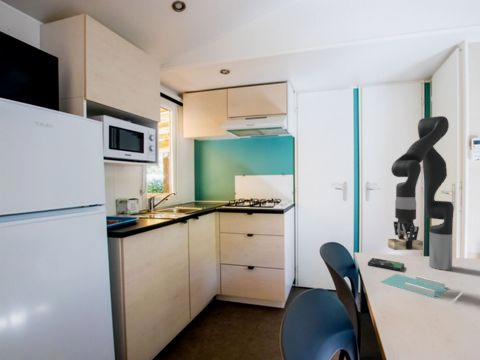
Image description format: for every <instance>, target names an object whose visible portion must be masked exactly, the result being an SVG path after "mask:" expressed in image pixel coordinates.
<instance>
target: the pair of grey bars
mask: <svg viewBox="0 0 480 360" xmlns="http://www.w3.org/2000/svg"><path fill="white" fill-rule="evenodd" d="M415 279H416V281H417V282H421V283H425V284H429V285H432V286H436V287H440V288H443V289H444V288H445V287H446V283H445V282H443V281H439V280H436V279H435V280H434V279H431V278H427V277H423V276H419V275H416V276H415ZM405 288H406V289H410V290H413V291H416V292H420V293H423V294H427V295H430V296H433V297H434V296H435V290H432V289H428V288H424V287H421V286H417V285H414V284H410V283H405Z"/></svg>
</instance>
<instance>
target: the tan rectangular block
mask: <svg viewBox="0 0 480 360" xmlns="http://www.w3.org/2000/svg"><path fill="white" fill-rule="evenodd" d="M387 241H388V242H387V243H388V244H387V247H388V248H389V249H391V250H393V251H408V250H407V249H406V238H405V239H399V238H388V239H387ZM411 251H424V242H423V240H420V239H417V240H413V242H412V250H411Z"/></svg>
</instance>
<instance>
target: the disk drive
mask: <svg viewBox="0 0 480 360" xmlns="http://www.w3.org/2000/svg"><path fill="white" fill-rule="evenodd" d="M367 266H369V267H373V268H379V269H384V270H389V271H395V272H399V273H400V272H402V271H403V270H404V268H405V263H403V262H398V261H393V260H387V259H382V258H375V257H372V258H371V259H370V260H369V261H368V262H367Z"/></svg>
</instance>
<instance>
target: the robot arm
mask: <svg viewBox="0 0 480 360" xmlns="http://www.w3.org/2000/svg"><path fill="white" fill-rule="evenodd" d="M449 123H450V122H449V119H448V118H447V117H446V116H444V115H443V116H441V115H440V116H439V115H438V116H430V117H424V118H421V119H420V120H419V121H418V123H417V133H418V138H419V139H418V140H416V141H415V142H413V143H412V144H411V145H410V147H408V149H407V150H406V153H404V154H402V155H401V156H400V157H398V158H397V159H396V160H395V161H394V162H393V163H392V165H391V168H390V170H391V174H392V175H393V176H395V177H396V178H407V179H406V180H405V182H398V183H397V184H396V186H395V190H396V191H395V195H396V196H395V202H394V203H395V204H394V205H395V206H394V207H395V210H394V211H395V213H394V217H395V219H397V221H393V228H394V235H395V236H397V238H398V239H406V249H407V250H406V251H413V250H412V242H413V240H418V235H419V230H420V226H416V225H415V224H414V220H416V219H417V198H416V191H417V190H416V188H417V184H418V180H419V177H420V174H421V170H423V178H424V188H425V213H426V216H427V218H429V219H431V220H432V219H435V220H443V222H442V223H440V224H436V225H431V226H429V254H428V255H429V258H428V259H429V262H428V263H429V265H428V266H429V267H430V268H434V269H437V270H443V271H451V270H453V228H454V212H455V210H454V209H455V208H454V204H453V202H452V201H448V200H435V197H436V194H437V191H438V190H439V189H440V187H441V185H443V183H444V182H445V181H446V179H447V176H448V174H447V173H448V171H447V170H448V169H447V162H446V160H445V159H444V157H443V156H442V155H441V154H440V153H439V152H438V150H437V149H435V147H434V146H436V144H437V143H438V142H439V141H440V140H442V138H443V137H444V136H445V135H446V134H447V133H448V130H449V125H450V124H449ZM421 163H422V166H421Z"/></svg>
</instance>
